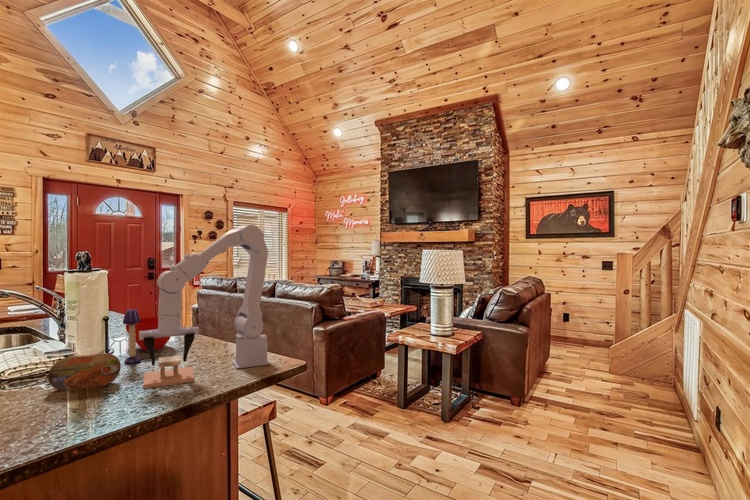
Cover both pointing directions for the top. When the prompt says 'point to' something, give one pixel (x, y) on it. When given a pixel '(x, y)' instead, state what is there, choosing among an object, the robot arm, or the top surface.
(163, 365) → the toy stool
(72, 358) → the tin
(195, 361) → the top surface
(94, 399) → the top surface
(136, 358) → the toy lamp
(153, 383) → the mat
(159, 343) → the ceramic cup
